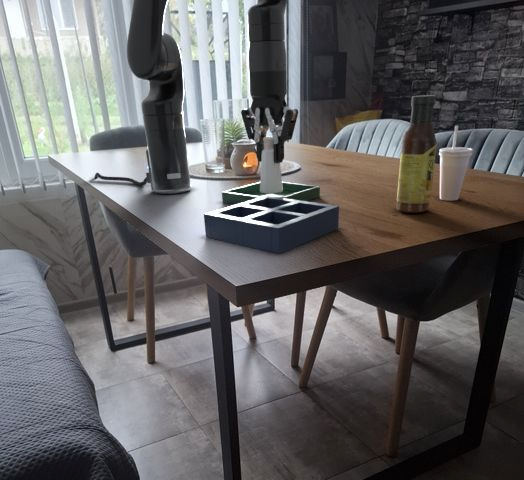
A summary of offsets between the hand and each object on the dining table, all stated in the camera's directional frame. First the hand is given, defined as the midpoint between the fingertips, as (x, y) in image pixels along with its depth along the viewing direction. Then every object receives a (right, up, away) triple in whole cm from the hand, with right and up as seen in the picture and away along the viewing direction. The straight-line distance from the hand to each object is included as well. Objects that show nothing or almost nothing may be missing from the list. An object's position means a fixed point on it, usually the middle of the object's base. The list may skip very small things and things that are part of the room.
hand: (270, 161), depth 103 cm
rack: (0, -20, -19) cm, 28 cm away
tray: (0, -7, +4) cm, 8 cm away
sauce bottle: (+28, -13, -9) cm, 32 cm away
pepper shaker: (0, -6, +3) cm, 6 cm away
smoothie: (+38, -9, -2) cm, 39 cm away
